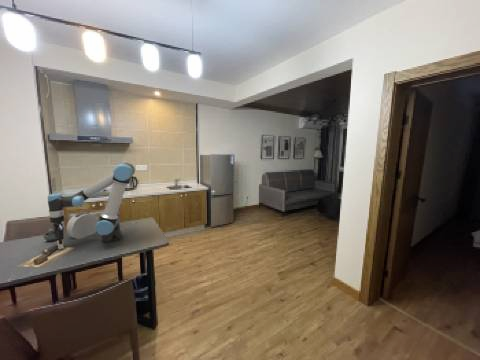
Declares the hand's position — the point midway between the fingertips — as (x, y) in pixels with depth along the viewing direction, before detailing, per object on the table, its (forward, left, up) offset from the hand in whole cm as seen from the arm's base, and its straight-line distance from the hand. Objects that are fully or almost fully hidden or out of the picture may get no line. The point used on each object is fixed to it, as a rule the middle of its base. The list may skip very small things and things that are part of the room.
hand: (60, 248), depth 147 cm
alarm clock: (+4, -28, -3) cm, 28 cm away
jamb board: (0, +9, -3) cm, 9 cm away
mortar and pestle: (+19, -15, -3) cm, 24 cm away
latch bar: (+3, +4, -1) cm, 5 cm away
